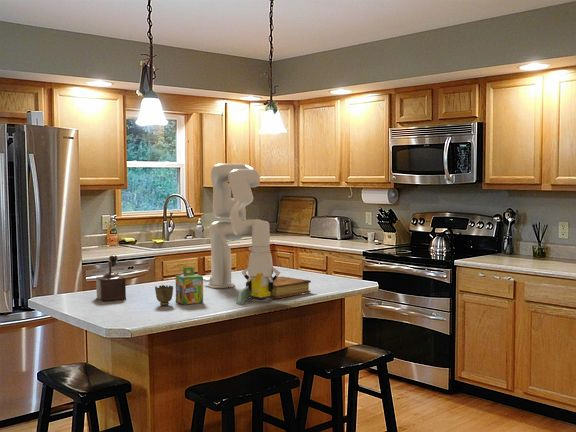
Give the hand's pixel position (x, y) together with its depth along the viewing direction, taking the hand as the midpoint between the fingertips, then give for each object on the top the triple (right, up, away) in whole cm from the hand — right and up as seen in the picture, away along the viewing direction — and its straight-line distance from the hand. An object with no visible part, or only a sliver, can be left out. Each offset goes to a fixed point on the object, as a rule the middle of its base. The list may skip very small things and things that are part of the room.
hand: (260, 290), depth 274 cm
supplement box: (0, -3, 0) cm, 3 cm away
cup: (-39, -5, -10) cm, 41 cm away
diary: (+7, -3, +16) cm, 18 cm away
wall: (-7, -4, +1) cm, 8 cm away
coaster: (0, -4, 0) cm, 4 cm away
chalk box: (-30, -5, -3) cm, 31 cm away
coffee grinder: (-67, -4, +8) cm, 67 cm away
